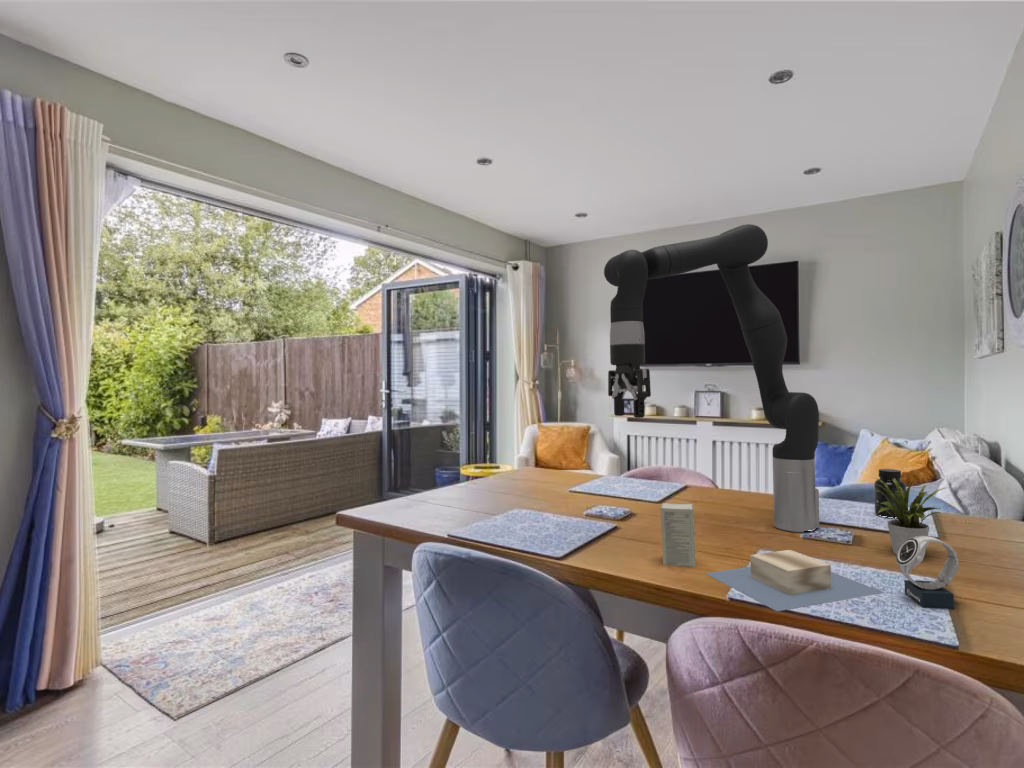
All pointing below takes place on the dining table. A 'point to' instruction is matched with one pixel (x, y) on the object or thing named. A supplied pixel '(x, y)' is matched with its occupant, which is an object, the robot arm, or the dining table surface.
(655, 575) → the dining table surface
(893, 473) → the supplement bottle
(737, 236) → the robot arm
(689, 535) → the skincare box
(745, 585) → the slate gray board
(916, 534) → the house plant
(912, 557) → the watch
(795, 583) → the plinth block
